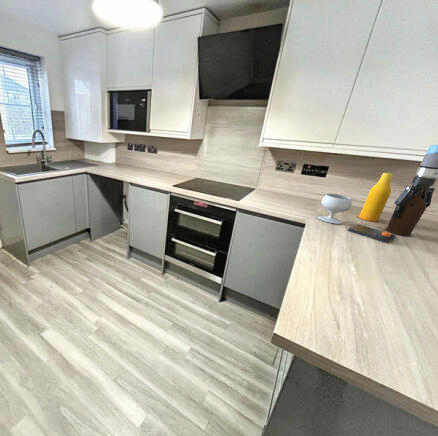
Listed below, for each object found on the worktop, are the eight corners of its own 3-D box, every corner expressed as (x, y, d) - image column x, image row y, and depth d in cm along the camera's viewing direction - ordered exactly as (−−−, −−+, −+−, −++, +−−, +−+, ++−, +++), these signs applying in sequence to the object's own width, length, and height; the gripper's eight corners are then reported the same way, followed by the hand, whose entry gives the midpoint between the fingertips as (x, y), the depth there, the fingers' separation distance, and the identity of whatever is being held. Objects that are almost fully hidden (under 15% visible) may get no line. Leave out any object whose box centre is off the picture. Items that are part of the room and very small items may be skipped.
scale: (397, 238, 122) (400, 233, 121) (389, 244, 114) (392, 238, 113) (357, 226, 135) (359, 221, 134) (347, 230, 127) (349, 225, 126)
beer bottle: (361, 215, 154) (379, 171, 143) (379, 220, 147) (400, 174, 136) (356, 218, 149) (375, 172, 138) (375, 223, 142) (397, 175, 131)
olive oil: (416, 238, 123) (441, 192, 114) (392, 234, 126) (414, 189, 117) (402, 230, 133) (424, 187, 123) (380, 227, 135) (400, 185, 126)
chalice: (343, 220, 143) (352, 196, 138) (345, 227, 132) (355, 201, 127) (315, 214, 150) (323, 191, 145) (315, 220, 139) (324, 196, 134)
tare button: (390, 236, 117) (392, 233, 116) (388, 237, 115) (390, 234, 114) (382, 233, 119) (383, 231, 119) (380, 235, 117) (381, 232, 117)
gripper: (413, 177, 113) (392, 219, 122) (455, 179, 115) (432, 221, 123) (396, 174, 120) (378, 214, 128) (437, 176, 122) (416, 215, 130)
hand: (405, 217), depth 126 cm, fingers closed on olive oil, 11 cm apart
